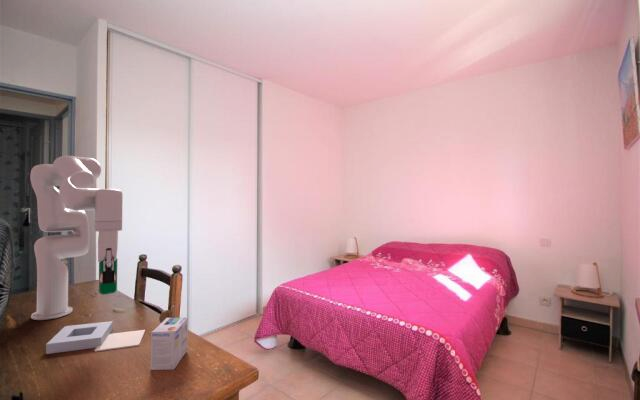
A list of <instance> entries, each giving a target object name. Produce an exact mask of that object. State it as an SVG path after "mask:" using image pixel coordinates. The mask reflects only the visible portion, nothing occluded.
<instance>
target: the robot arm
mask: <svg viewBox="0 0 640 400" xmlns="http://www.w3.org/2000/svg"><path fill="white" fill-rule="evenodd" d="M101 172H102V167H101V165H100V162H99V161H98V160H96V159H95V158H93V157H86V156H85V157H83V156H78V155H77V156H74V155H61V156H59V157H56V158H55V159H54V161H53V163H52V164H51V163H42V164H37V165H34V166H33V167H32V168H31V170H30V175H29V176H30V178H29V179H30V183H31V188H32V189H33V191H34V194H35V196H36V201H37V202H36V203H37V204H36V205H37V221H38V223H37V224H38V227H39V229H40V231H42V232H44V233H60V232H62V233H63V232H72V234H58V235H57V234H56V235H45V236H42V237H41V238H38V239H37V240H36V241H35V242H34V245H33V249H34V250H33V251H34V255H35V259H36V311H35V312H32V313H31V316H30V318H31V320H34V321H35V320H36V321H44V320H52V319H58V318H61V317H64V316H67V315H70V314H71V313H73V311H74V310H73V307H71V306H69V268H68V266H67V265H66V264H65V263H64V262H63V261H62V259H68V258H77V257H81V256H86V254H88V252H89V250H90V230H89V229H90V227H89V218H88V214H87V212H86V211H89V212H90V211H94V232H98V238H97V263H98V264H99V263H100V261H103V259H104V262H103V263H104V265H103V271H102V283H103V284H107V283H114V261H115V260H116V258H117V257H118V247H119V246H118V245H119V242H118V241H119V232H120V231H123V198H124V196H123V192H122V190H120V189H116V188H91V187H92V186H93V184H94V182H95V181H96V180H97V179H98V178H99V177H101V174H102V173H101ZM57 187H59V189H58V188H57ZM111 259H112V261H111ZM105 260H107V261H105ZM106 263H107V264H106ZM105 267H106V269H105ZM105 270H106V271H105Z"/></svg>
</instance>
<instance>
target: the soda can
mask: <svg viewBox="0 0 640 400" xmlns="http://www.w3.org/2000/svg"><path fill="white" fill-rule="evenodd" d="M105 261H107V260H105ZM111 261H112V259H111ZM103 262H104V259H103V261H100V263H99V262H98V293H99V294H100V295H111V294H114V293H116V292H117V291H118V258H117V257H116V260H115V261H114V283H107V284H103V283H102V271H103V265H104V263H103ZM106 264H107V263H106ZM105 269H106V267H105ZM105 271H106V270H105Z"/></svg>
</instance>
